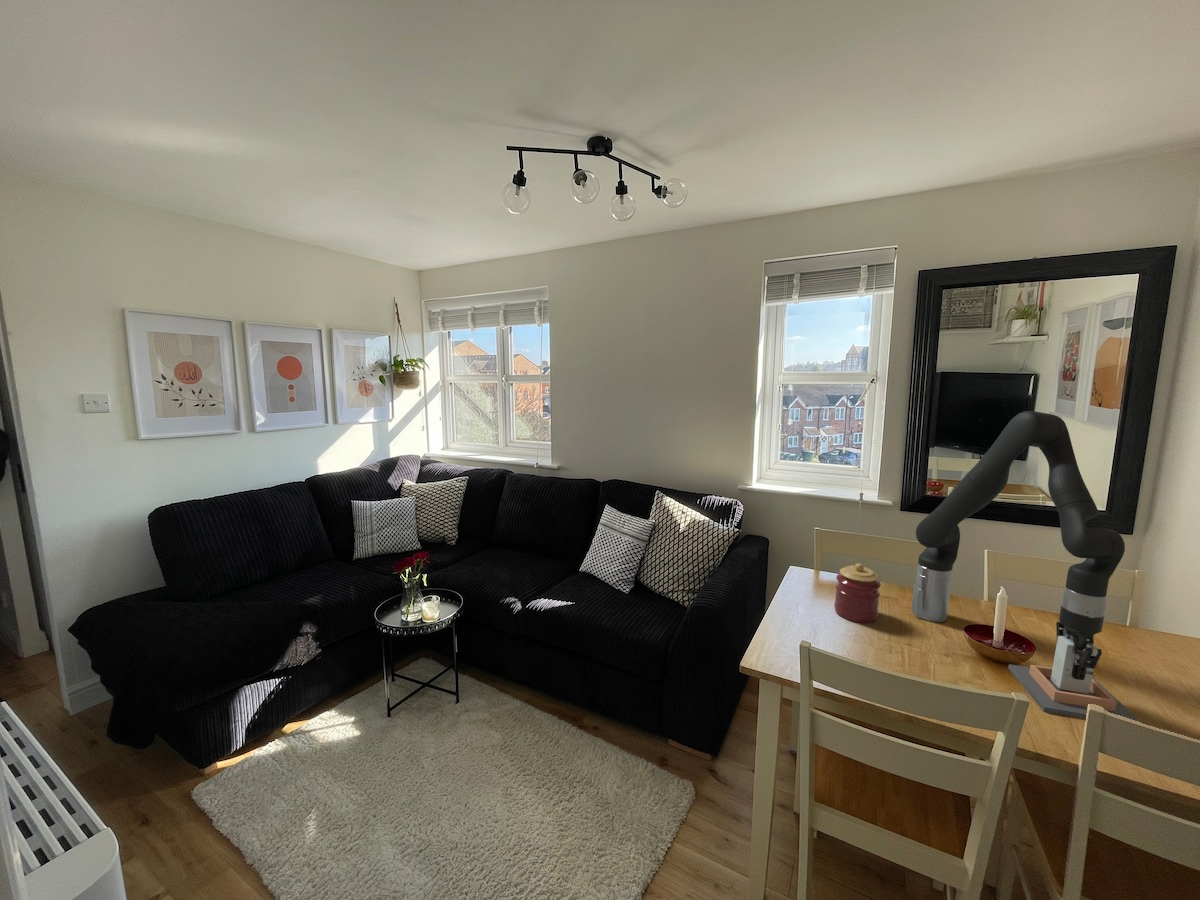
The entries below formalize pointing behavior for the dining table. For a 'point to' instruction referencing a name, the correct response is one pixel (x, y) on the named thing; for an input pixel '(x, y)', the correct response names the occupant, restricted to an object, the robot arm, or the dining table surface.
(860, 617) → the canister
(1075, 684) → the skincare box
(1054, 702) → the collar stand
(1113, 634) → the dining table surface
